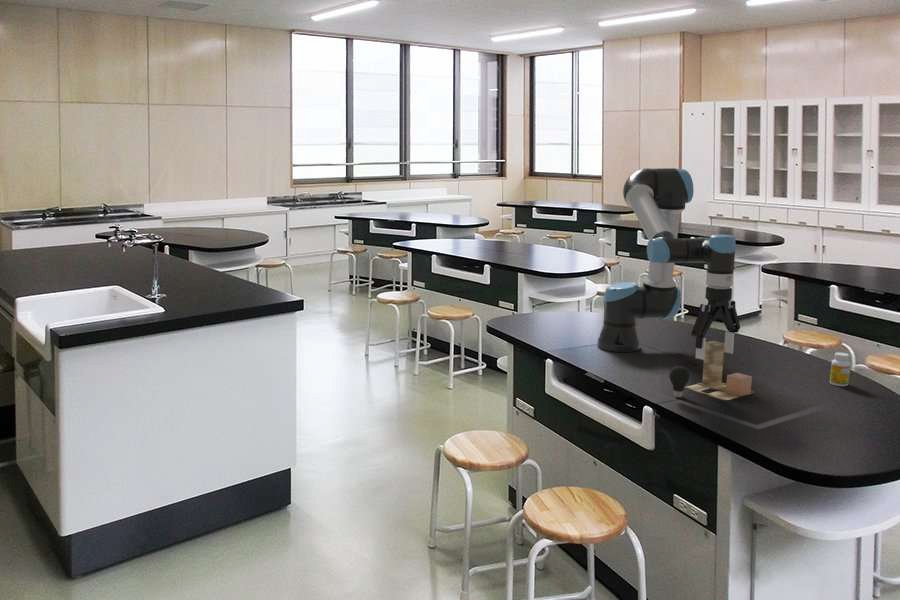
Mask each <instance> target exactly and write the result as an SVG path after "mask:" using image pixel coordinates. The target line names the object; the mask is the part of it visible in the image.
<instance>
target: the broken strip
mask: <svg viewBox="0 0 900 600" xmlns="http://www.w3.org/2000/svg"><path fill="white" fill-rule="evenodd" d="M686 387H689V388H692V389H695V390H698V391H701V392H703V391H705V390H710V389H711V388H708V387H705V386H702V385H698V384H697V383H696V384H692V385H688V386H686ZM707 393H708V392H707ZM708 394H711V395H714V396H717V397H721V398H724V399H727V400H726V401H729V400H733V399H734V400H735V399H738V396H734V395H731V394H728V393H725V392H721V391H718V390H715V391H713V392H710V393H708Z"/></svg>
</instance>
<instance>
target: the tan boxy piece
mask: <svg viewBox="0 0 900 600" xmlns="http://www.w3.org/2000/svg"><path fill="white" fill-rule="evenodd" d="M724 345H725V342H720V341H716V340H712V341H706V344H705V359H704V360H703V369H702V382H700V383H701V384H704V385H707V386H711V387H714V388H717V389H721V390H724V391H726V385H723V384H721V383H723V382H722V381H723V370H724V369H723V367H724V356H725V355H724V354H725V352H724ZM752 394H753V393H748V394H745V395H741V397H744V396H748V395H752Z"/></svg>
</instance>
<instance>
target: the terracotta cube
mask: <svg viewBox="0 0 900 600" xmlns="http://www.w3.org/2000/svg"><path fill="white" fill-rule="evenodd" d="M752 381H753V376H751V375H748V374H744V373H740V372H734V373H730V374H727V375H726V391H727V392H730V393H734V394H737V395H740V396H741V395H745V394H748V393H751V391H752ZM748 395H749V394H748ZM745 396H746V395H745ZM741 397H742V396H741Z"/></svg>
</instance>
